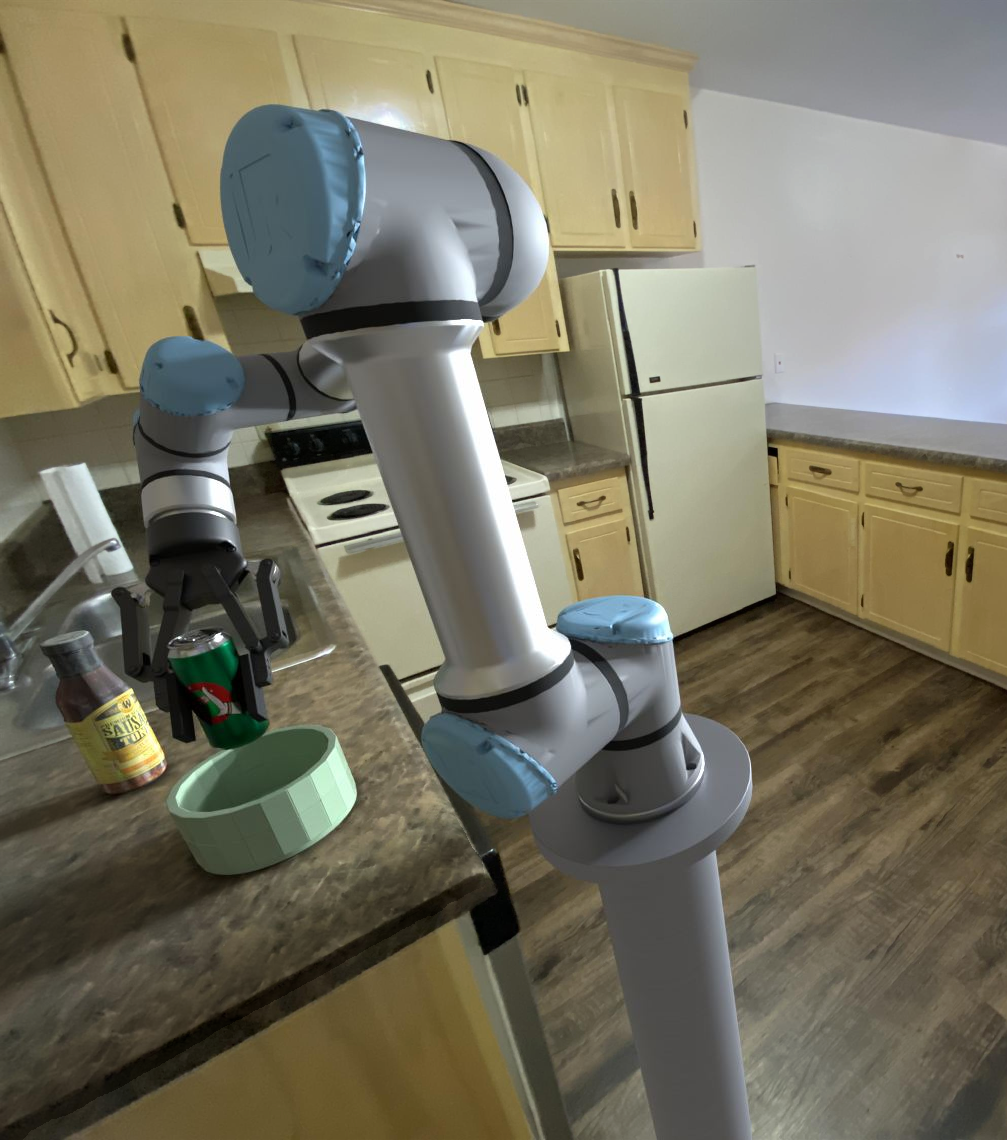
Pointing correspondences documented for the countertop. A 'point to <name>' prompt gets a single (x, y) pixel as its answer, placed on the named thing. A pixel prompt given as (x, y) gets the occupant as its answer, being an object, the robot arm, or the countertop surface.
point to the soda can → (214, 686)
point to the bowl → (263, 799)
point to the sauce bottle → (103, 716)
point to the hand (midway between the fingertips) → (222, 727)
